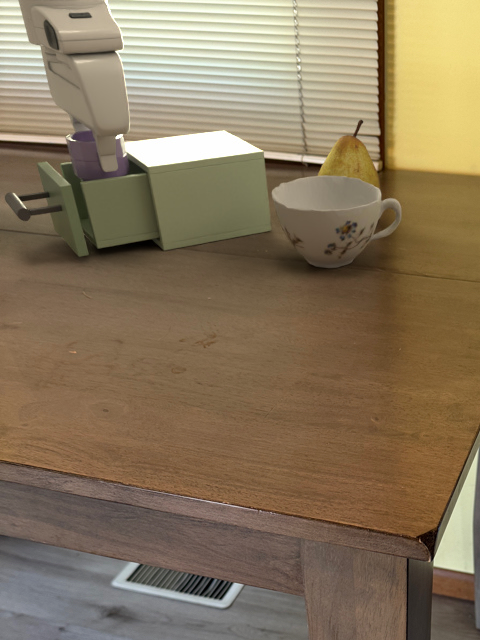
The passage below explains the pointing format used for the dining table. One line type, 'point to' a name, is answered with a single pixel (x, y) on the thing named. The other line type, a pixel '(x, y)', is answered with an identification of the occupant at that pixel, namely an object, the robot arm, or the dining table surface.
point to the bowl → (94, 157)
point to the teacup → (331, 217)
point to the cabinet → (204, 187)
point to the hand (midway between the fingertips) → (99, 162)
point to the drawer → (93, 207)
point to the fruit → (350, 160)
